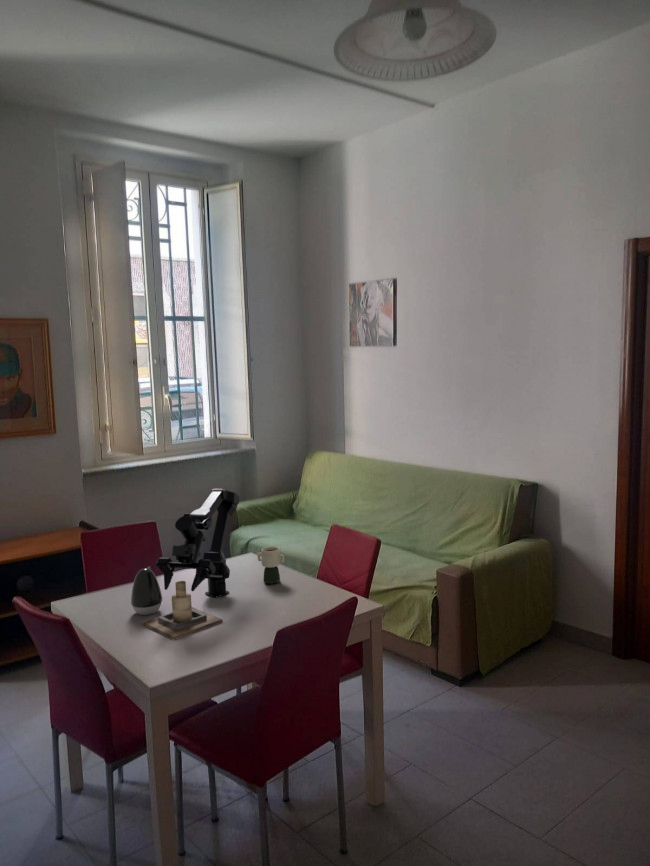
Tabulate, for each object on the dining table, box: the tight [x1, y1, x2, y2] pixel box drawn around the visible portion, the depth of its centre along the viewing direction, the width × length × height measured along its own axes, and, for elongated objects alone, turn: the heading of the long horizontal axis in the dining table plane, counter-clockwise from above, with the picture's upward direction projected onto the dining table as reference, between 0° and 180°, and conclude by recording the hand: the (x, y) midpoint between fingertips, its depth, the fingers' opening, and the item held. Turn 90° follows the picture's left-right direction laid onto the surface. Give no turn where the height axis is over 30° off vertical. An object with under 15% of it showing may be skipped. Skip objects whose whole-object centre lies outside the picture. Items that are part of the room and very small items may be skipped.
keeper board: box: [142, 606, 223, 641], centre depth 212 cm, size 18×18×2 cm
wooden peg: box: [171, 580, 193, 624], centre depth 212 cm, size 6×6×12 cm
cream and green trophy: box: [257, 545, 285, 584], centre depth 249 cm, size 11×7×13 cm, turn 71°
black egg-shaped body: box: [130, 566, 163, 616], centre depth 223 cm, size 10×10×15 cm
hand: (178, 590), depth 210 cm, fingers open, 9 cm apart
